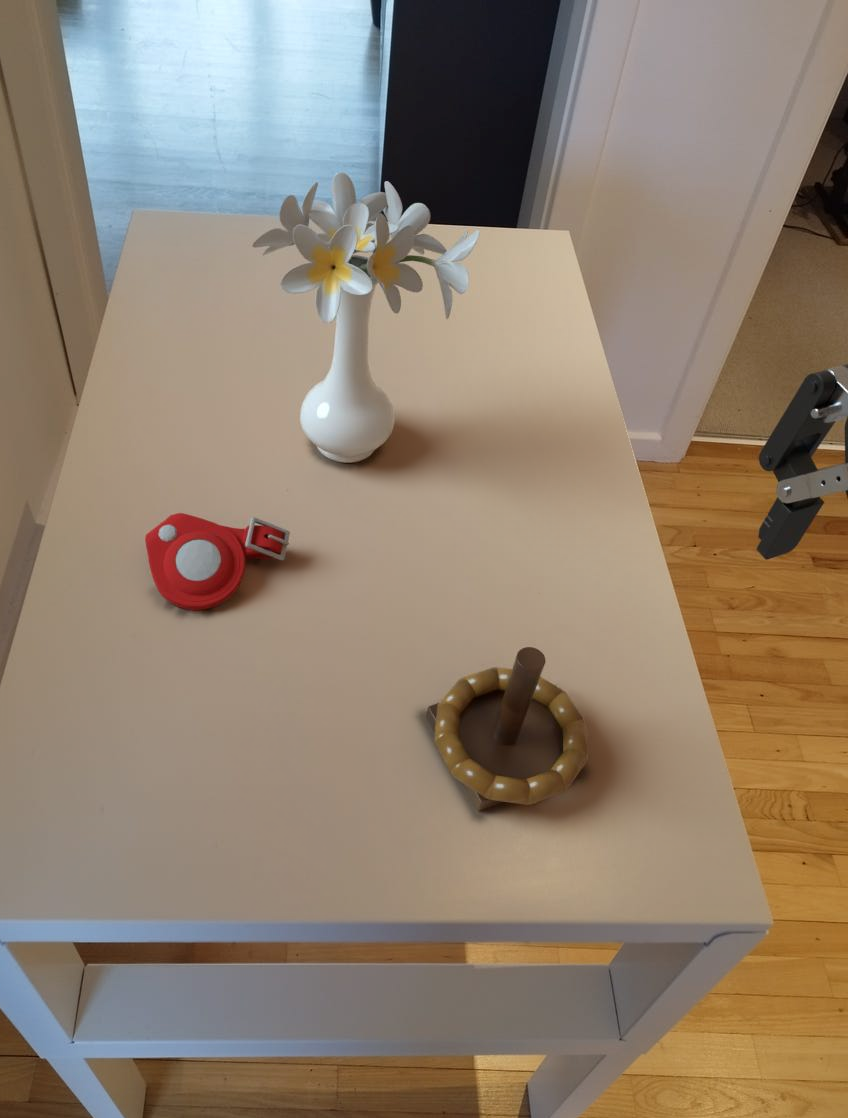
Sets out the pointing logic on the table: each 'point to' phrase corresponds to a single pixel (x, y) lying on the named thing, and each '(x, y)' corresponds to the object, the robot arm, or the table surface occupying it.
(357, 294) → the flower vase
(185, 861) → the table surface
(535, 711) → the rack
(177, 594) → the tracker holder
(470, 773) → the ring
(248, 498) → the table surface
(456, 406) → the table surface
